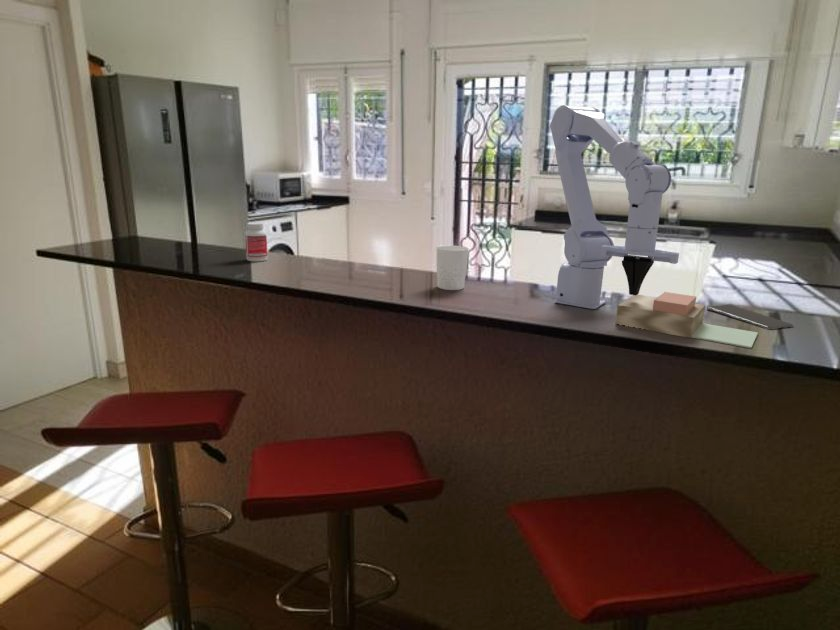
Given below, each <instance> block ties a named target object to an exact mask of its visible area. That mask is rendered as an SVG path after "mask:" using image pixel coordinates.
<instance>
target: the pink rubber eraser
mask: <svg viewBox="0 0 840 630" xmlns="http://www.w3.org/2000/svg"><path fill="white" fill-rule="evenodd" d="M696 302H697V296H696V295H689V294H680V293H674V292H667V291H664V292H663V293H661V294H660V295H658V297H656V299H655V300H654V303H653V310H655V311H661V312H667V313H673V314H679V315H685V316H686V315H687V314H688V313H689V312H690V311H691V310H692V309H693V308H694V307H695V304H697V303H696Z"/></svg>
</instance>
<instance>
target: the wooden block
mask: <svg viewBox="0 0 840 630" xmlns="http://www.w3.org/2000/svg"><path fill="white" fill-rule="evenodd" d="M656 298H657V297H655V296H649V295H641V294H638V295H630V297H628V298H626V299H625V300H624V301H622V302H621V303H619V304H617V309H616V317H615V325H617V324H619V326H622V325H625V326H624V327H628V326H629V327H630V328H633V327H635V328H634V329H639V328H641V329H640V330H644V329H646V330H645V331H650V332H656V333H662V334H667V335H673V336H678V337H683V338H689V339H691V338H692V337H691V336H692V334H693V333H694V332H695V331H696V330H697V328H698V327H699V326H700V325H701V324H702V323H704V322H703V321H704V316H705V311H706V304H702V303H701V304H700V303H695V307H694V308H693V309H692V310H691V311H690V312H689V313H688V314H687V315H686V316H685V315H679V314H673V313H667V312H661V311H655V310H653V303H654V300H655V299H656Z"/></svg>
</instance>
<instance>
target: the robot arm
mask: <svg viewBox="0 0 840 630" xmlns="http://www.w3.org/2000/svg"><path fill="white" fill-rule="evenodd" d="M549 127H550V131H551V137H552V140H553V145H554V149H555V150H554V152H555V158H556V159H555V160H556V162H557V167H558V171H559V176H560V181H561V186H562V190H563V194H564V198H565V199H564V200H565V202H566V207H567V211H568V216H569V220H570V224H571V226H570V227H569V228H568V229H567V230H566V232H564V234H563V241H564V246H563V247H564V248H563V249H564V250H563V251H564V257H565V259H566V262H564V263H561V266H560V267H559V270H558V273H557V282H556V283H557V285H556V295H555V299H554V303H557V304H562V305H567V306H573V307H578V308H585V309H590V310H596V309H598V308H599V307H600V306H602V305H605V304H606V303H607V300H603V299H601V295H602V287H603V278H604V270H605V267H606V266H607V265H608V262H609V261H610V260H611V259H612V258H613V257H616V258H617V257H619V258H623V259H622V260H621V265H622V268H623V270H624V272H625V276H626V280H627V283H628V295H630V296H633V295H640V294H639V293H640V290H641V287H642V285H643V282H644V281H645V278H646V276H647V275H648V273H649V271H650V269H651V268H652V267H653V265H654V263H655V262H661V263H669V264H673V265H676V264H678V263H679V258H680V257H679V256H680V253H679V252H673V251H667V250H660V249H656V244H657V237H658V229H659V223H660V222H659V221H660V217H661V216H660V214H661V208H662V201H663V194H665V193H666V192H667V191H668V190H669V188H670V187H671V183H672V173H671V170H670V169H669V168H668V166H667V165H666V164H664V163H657V164H656V162H654V161H653V160H654V159H653V158H652V157H651V156H647V154H646V153H644V151H642V150H641V148H639V147H640V144H639V143H638V142H637V141H632V140H623V139H622V138H621V136H619V134H618V133H617V132H616V131H615V130H614V128H613V127H612V126H611V125H610V124H609V123H608V122H607V120H606V114H605V113H603V112H602V111H601V110H600V109H599V108H598V107H595V106H594V107H592V106H591V107H584V106H583V107H580V106H569V105H566V104H562V105H559V106H558V107H557V108H556V110H555V111H554V114H553V116H552V118H551V121H550V124H549ZM593 141H594V142H596V143H597V144H598V145H599V146H600V147H601V148H602V149H604V150H605V151H606V152H607V153H608V154H609V157H608V161H609V163H610V164H611V165H612V167H613V168H614V169H615V170H616V171H617V172H618V173H619V174H620V175H621V177H623V179H625V188H626V190H627V193H628V197H627V200H628V203H629V207H628V208H629V209H628V218H627V225H626V233H625V241H624V246H621V245H620V246H619V245H615V244H614V240H613V239H612V238H611V237H610V235H609V232H608V228H607V227H606V226H605V225H604V224H602V223H601V222H600V221H599V220H598V219H597V217H596V213H595V208H594V205H593V200H592V196H591V191H590V187H589V182H588V179H587V173H586V170H585V166H584V161H583V158H582V157H583V156H582V153H583V152H584V151H586V150H587V149H588V148H589V146H590V145H591V144H592V143H593Z"/></svg>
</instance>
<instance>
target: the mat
mask: <svg viewBox="0 0 840 630" xmlns="http://www.w3.org/2000/svg"><path fill="white" fill-rule="evenodd" d="M758 335H759V332H757V331H752V330H745V329H740V328H733V327H729V326H727V327H726V326H721V325H716V324H709V323H704V322H702V324H701V325H700V326H699V327H698V328H697V330H696V331H695V332H694V333H693V334H692V336H691V338H693V339H698V340H703V341H707V342H709V341H710V342H714V343H721V344H726V345H730V346H736V347H741V348H747V349H752V347H753V346H754V344H755V340H756V339H757V337H758Z"/></svg>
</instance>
